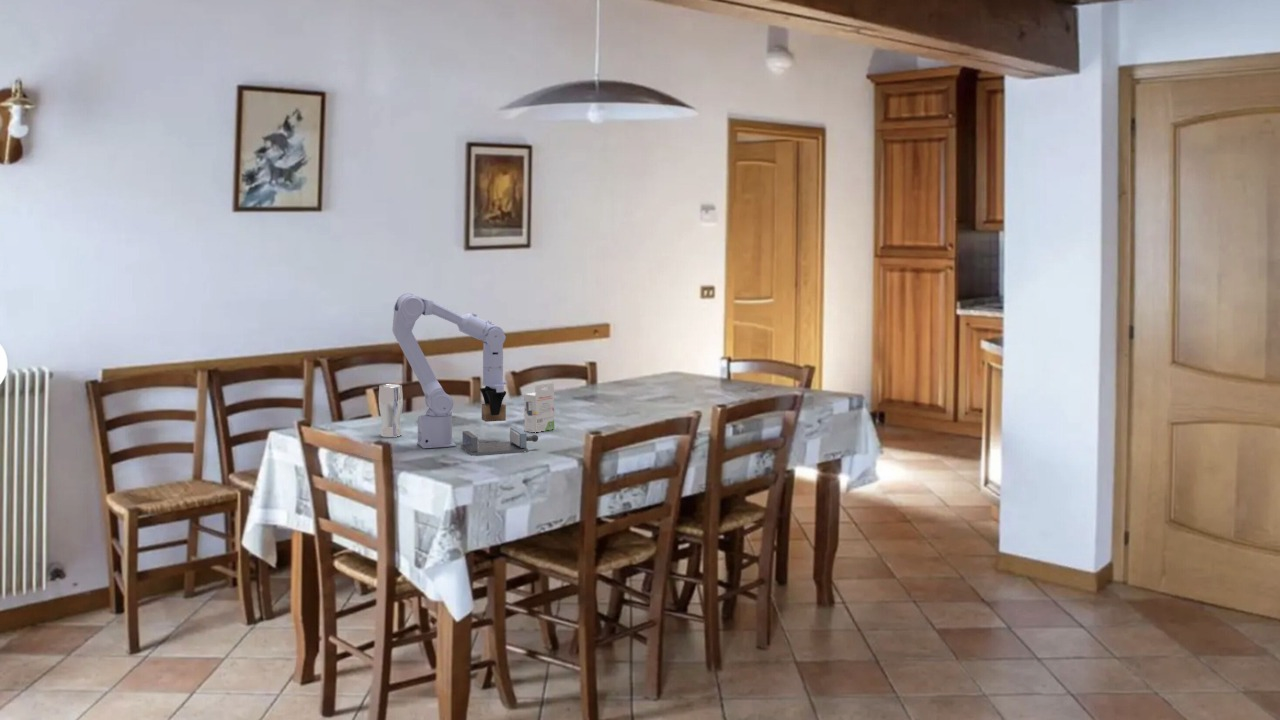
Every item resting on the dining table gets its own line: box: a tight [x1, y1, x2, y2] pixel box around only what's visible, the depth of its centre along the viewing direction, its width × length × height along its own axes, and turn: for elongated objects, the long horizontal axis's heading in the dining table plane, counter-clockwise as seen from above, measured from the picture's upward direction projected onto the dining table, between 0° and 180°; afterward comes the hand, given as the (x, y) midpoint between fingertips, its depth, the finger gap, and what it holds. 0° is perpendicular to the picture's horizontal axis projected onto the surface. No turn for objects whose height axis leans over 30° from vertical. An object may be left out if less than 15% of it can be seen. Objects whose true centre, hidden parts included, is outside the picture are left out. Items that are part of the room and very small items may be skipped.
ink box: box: [523, 382, 555, 434], centre depth 348 cm, size 9×5×15 cm, turn 141°
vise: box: [460, 430, 529, 456], centre depth 319 cm, size 16×12×5 cm
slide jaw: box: [509, 426, 539, 448], centre depth 323 cm, size 6×10×4 cm, turn 24°
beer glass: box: [378, 383, 404, 438], centre depth 336 cm, size 7×7×15 cm
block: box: [481, 403, 507, 422], centre depth 329 cm, size 6×4×4 cm, turn 114°
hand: (492, 413), depth 329 cm, fingers closed on block, 4 cm apart
